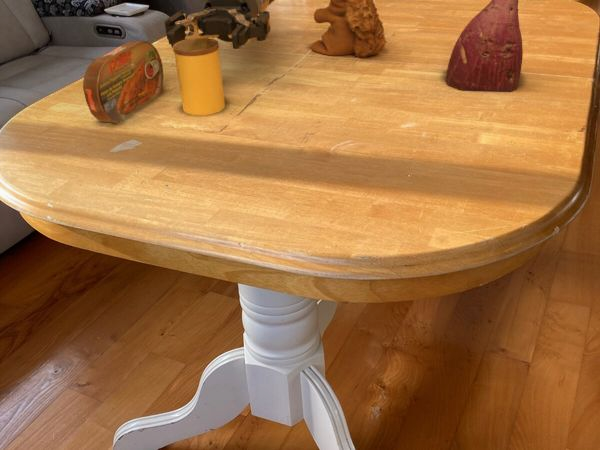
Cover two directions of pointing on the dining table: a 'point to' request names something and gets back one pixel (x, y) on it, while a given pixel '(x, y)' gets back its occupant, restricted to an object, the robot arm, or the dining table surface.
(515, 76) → the vegetable
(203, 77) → the yellow canister
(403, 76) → the dining table surface
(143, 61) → the tin
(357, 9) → the stuffed squirrel
